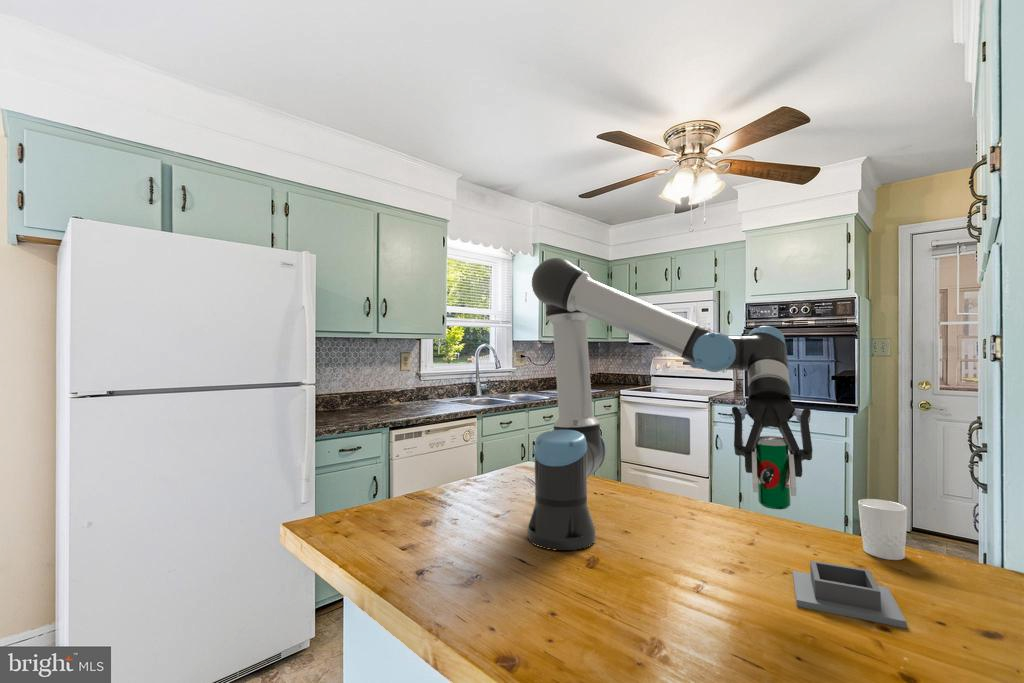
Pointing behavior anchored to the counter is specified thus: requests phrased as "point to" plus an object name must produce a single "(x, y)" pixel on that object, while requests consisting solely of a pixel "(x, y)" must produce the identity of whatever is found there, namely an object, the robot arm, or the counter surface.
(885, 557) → the white cup
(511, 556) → the counter surface
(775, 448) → the soda can
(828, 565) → the mount
